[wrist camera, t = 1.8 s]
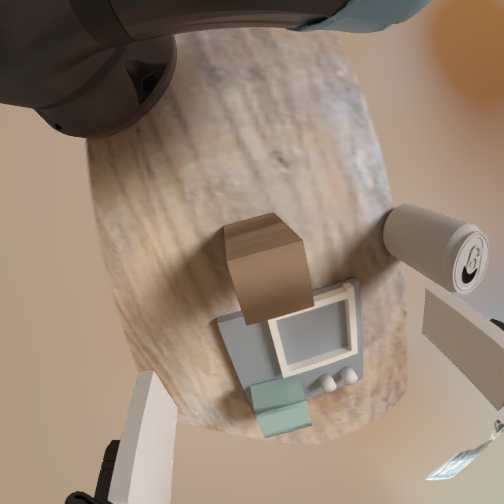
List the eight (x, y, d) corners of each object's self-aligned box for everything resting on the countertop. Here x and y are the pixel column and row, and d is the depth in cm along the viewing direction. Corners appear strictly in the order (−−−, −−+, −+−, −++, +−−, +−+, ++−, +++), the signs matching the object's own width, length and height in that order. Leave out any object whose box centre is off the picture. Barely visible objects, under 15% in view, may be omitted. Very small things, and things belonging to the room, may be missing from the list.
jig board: (216, 315, 30) (216, 331, 27) (354, 275, 30) (367, 286, 27) (252, 406, 35) (255, 423, 32) (359, 373, 36) (368, 387, 33)
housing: (250, 386, 32) (254, 414, 28) (297, 373, 32) (306, 400, 28) (260, 411, 34) (265, 437, 29) (302, 399, 34) (311, 425, 30)
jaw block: (223, 225, 27) (226, 261, 18) (273, 212, 27) (302, 240, 18) (237, 272, 29) (246, 325, 19) (284, 259, 29) (314, 306, 19)
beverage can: (373, 252, 30) (440, 298, 18) (386, 196, 28) (464, 221, 17) (413, 258, 31) (478, 299, 19) (425, 208, 29) (499, 234, 18)
